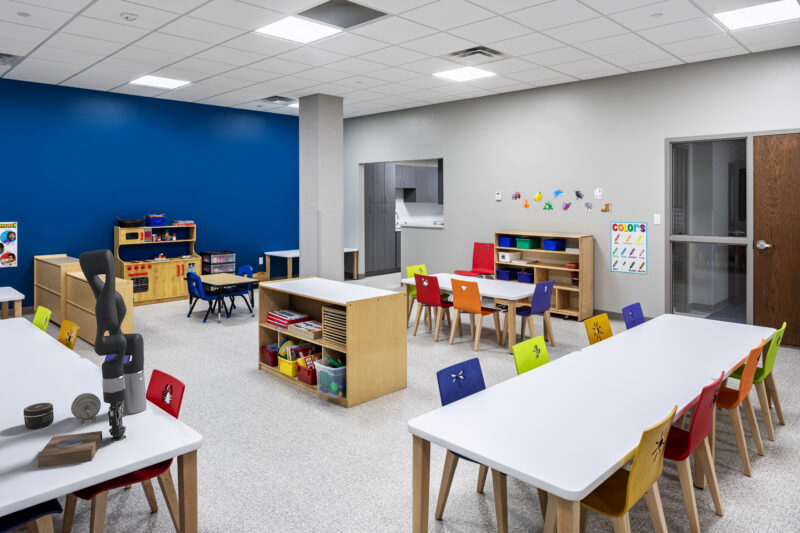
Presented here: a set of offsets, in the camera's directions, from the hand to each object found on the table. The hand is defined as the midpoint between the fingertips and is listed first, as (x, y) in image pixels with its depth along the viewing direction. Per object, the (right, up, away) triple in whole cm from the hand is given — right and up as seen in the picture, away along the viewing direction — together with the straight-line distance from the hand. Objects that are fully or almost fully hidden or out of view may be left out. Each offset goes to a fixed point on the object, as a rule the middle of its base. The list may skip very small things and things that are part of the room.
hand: (117, 431), depth 205 cm
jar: (-38, -2, +14) cm, 41 cm away
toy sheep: (-22, -1, +18) cm, 28 cm away
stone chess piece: (0, -3, 0) cm, 3 cm away
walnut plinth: (-10, -4, -12) cm, 16 cm away
